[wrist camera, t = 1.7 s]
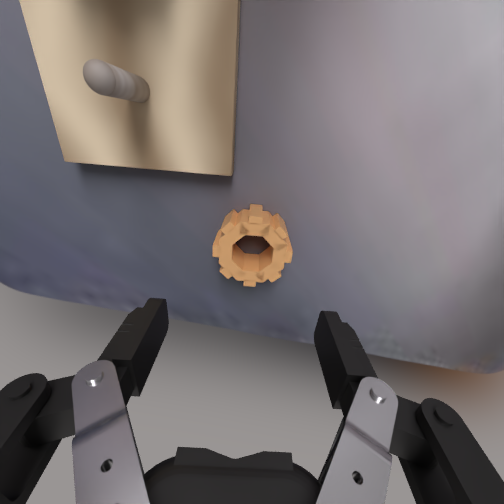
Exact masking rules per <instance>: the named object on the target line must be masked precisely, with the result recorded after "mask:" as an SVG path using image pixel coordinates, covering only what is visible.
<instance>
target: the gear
mask: <svg viewBox="0 0 504 504" xmlns="http://www.w3.org/2000/svg"><path fill="white" fill-rule="evenodd" d="M245 235H252V236H263V237H264V238H265V239H266V240H267V242H268V243H269V244H270V247H268V248H267V249H266V250H264V251H263V252H261V253H260V254H249V253H244V252H243V251H242V250H241V249H240V248H239V247H238V246H237V245H236V244H235V243H236V242H237V241H238V240H239V239H241V238H242V237H243V236H245ZM292 253H293V251H292V247H291V244H290V240H289V236H288V233H287V229H286V225H285V222H284V220H283V219H282V218H281V217H280V215H279V214H278V213H276V214H275V215H274V216H272V215H271V214H270V213H269V211H262V205H257V204H250V210H247V209H243V210H241V211H240V212H239V213H237V212H236V211H235V210H234V209H233V210H232V211H231V212H230V213H229V214H227V215H226V216H225V218H224V221H223V224H222V226H221V229H220V230H219V231H218V233H217V236H216V238H215V241H214V243H213V257H219V264H220V265H221V268H220V272H221V273H222V274H223V275H224V276H225V277H226V278H227V279H229V278H230V277H232V276H233V277H234V278H235V279H236V280H238V281H244V286H252V287H255V285H256V282H262V283H263V282H264V281H266V280H267V279H269V280H270V281H271V282H274V281H275V280H277V279H278V278H280V277H281V270H282V269H284V262H285V263H291V259H292Z"/></svg>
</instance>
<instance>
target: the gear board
mask: <svg viewBox="0 0 504 504" xmlns="http://www.w3.org/2000/svg"><path fill="white" fill-rule="evenodd" d="M19 1H20V4H21V8H22V11H23V15H24V18H25V22H26V26H27V29H28V33H29V36H30V40H31V43H32V47H33V50H34V54H35V57H36V61H37V64H38V68H39V72H40V75H41V79H42V82H43V86H44V89H45V93H46V96H47V100H48V103H49V107H50V111H51V114H52V118H53V121H54V125H55V128H56V132H57V135H58V139H59V142H60V146H61V149H62V153H63V157H64V160H65V162H76V163H87V164H99V165H110V166H122V167H133V168H145V169H156V170H168V171H179V172H191V173H202V174H214V175H225V176H232V174H233V171H234V146H235V121H236V96H237V71H238V47H239V22H240V0H19Z"/></svg>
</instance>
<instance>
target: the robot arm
mask: <svg viewBox="0 0 504 504" xmlns="http://www.w3.org/2000/svg"><path fill="white" fill-rule="evenodd" d="M168 324H169V321H168V311H167V302H166V299H159V298H149V299H148V301H147V302H146V304H145V306H144V307H143V308H138V307H137V308H136V309H135V310H133V311H132V312H131V313H130V314H128V316H127V317H126V319H125V320H124V322H123V324H122V325H121V326H120V328H119V329H118V332H116V333H115V335H114V336H113V338H112V339H111V341H110V343H109V344H108V345H107V347H106V348H105V350H104V351H103V353H102V354H101V356H100V357H99V359H98V360H97V361H95V362H92V363H90V364H88V365H86V366H85V367H83V368H82V369H81V370H80V371H79V372H78V373H77V374H76V375H73V376H69V377H65V378H60V379H56V380H51V381H47V379H46V377H45V376H44V375H42V374H39V373H33V374H28V375H24V376H22V377H19V378H17V379H15V380H14V381H12V382H10V383H9V384H7V385H6V386H5V387H4V388H3V389H2V390H1V391H0V504H26V502H27V500H28V498H29V496H30V495H31V493H32V491H33V489H34V488H35V486H36V484H37V482H38V481H39V479H40V477H41V475H42V473H43V472H44V470H45V468H46V466H47V465H48V463H49V461H50V459H51V457H52V456H53V454H54V452H55V450H56V449H57V447H58V445H59V443H60V441H61V440H62V438H65V437H69V436H72V435H75V437H74V438H73V440H72V454H73V468H74V483H75V497H76V504H384V503H385V498H386V492H387V487H388V481H389V476H390V470H391V465H392V455H391V454H394V455H396V456H398V458H399V460H400V463H401V466H402V468H403V471H404V473H405V476H406V478H407V481H408V483H409V486H410V489H411V491H412V494H413V496H414V499H415V501H416V504H504V482H503V480H502V479H501V477H500V476H499V474H498V473H497V471H496V470H495V468H494V467H493V465H492V463H491V462H490V461H489V459H488V457H487V456H486V454H485V453H484V451H483V450H482V448H481V447H480V445H479V444H478V442H477V441H476V439H475V438H474V437H473V435H472V433H471V432H470V430H469V429H468V427H467V426H466V424H465V423H464V421H463V420H462V418H461V417H460V416H459V415H458V414H457V412H456V411H455V410H453V409H452V408H451V407H450V406H448V405H447V404H445V403H444V402H442V401H440V400H437V399H433V398H427V399H425V400H423V402H422V403H421V404H418V403H416V402H413V401H410V400H407V399H405V398H402V397H400V396H397V395H396V394H395V393H394V391H393V390H392V389H391V387H390V386H389V385H387V384H386V383H385V382H383V381H382V380H380V379H378V377H377V375H376V373H375V371H374V369H373V367H372V365H371V363H370V361H369V359H368V357H367V355H366V353H365V351H364V349H363V347H362V345H361V343H360V341H359V339H358V337H357V335H356V333H355V331H354V330H353V329H352V328H351V327H350V326H349V324H348V323H344V322H341V319H340V317H339V315H338V313H337V312H333V311H321V312H320V315H319V318H318V322H317V325H316V328H315V332H314V343H315V347H316V350H317V354H318V357H319V361H320V364H321V368H322V371H323V375H324V379H325V382H326V386H327V390H328V393H329V397H330V400H331V403H332V407H333V409H342V412H343V415H344V417H343V419H342V421H341V424H340V427H339V429H338V431H337V434H336V437H335V439H334V442H333V444H332V447H331V449H330V452H329V454H328V457H327V459H326V462H325V464H324V466H323V469H322V471H321V473H320V476H319V478H318V480H317V479H316V478H315V477H314V476H313V475H312V474H311V473H310V472H308V471H307V470H305V469H304V468H303V467H301V466H299V465H297V464H295V463H293V462H292V453H286V452H267V451H263V452H260V453H256V454H253V455H249V456H245V457H242V458H239V459H232V458H229V457H227V456H224V455H222V454H219V453H216V452H214V451H212V450H209V449H206V448H190V447H178V448H177V452H176V456H175V457H172V458H169V459H167V460H164V461H162V462H161V463H159V464H157V465H155V466H154V467H153V468H152V469H150V470H149V471H148V472H146V473H145V474H144V471H143V467H142V463H141V459H140V456H139V452H138V448H137V445H136V441H135V437H134V433H133V429H132V426H131V422H130V418H129V415H128V411H127V407H126V406H127V403H128V401H129V399H130V397H131V396H140V394H141V392H142V390H143V387H144V385H145V383H146V380H147V378H148V376H149V373H150V371H151V369H152V366H153V364H154V362H155V359H156V357H157V355H158V352H159V350H160V348H161V345H162V343H163V341H164V338H165V336H166V333H167V330H168ZM389 453H391V454H389Z"/></svg>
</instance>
